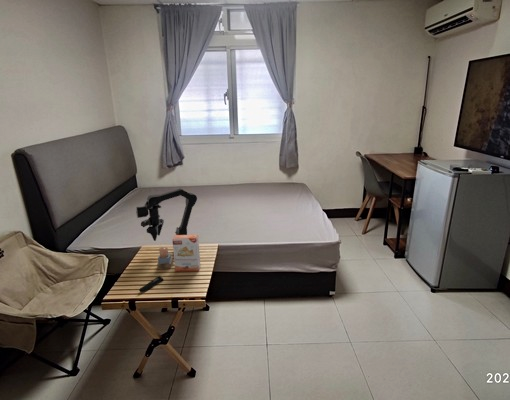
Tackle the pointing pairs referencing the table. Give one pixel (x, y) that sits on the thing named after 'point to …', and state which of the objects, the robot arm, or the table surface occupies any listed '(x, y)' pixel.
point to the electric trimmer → (151, 284)
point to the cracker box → (186, 252)
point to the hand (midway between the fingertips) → (156, 237)
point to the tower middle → (164, 259)
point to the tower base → (165, 265)
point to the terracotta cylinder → (163, 252)
